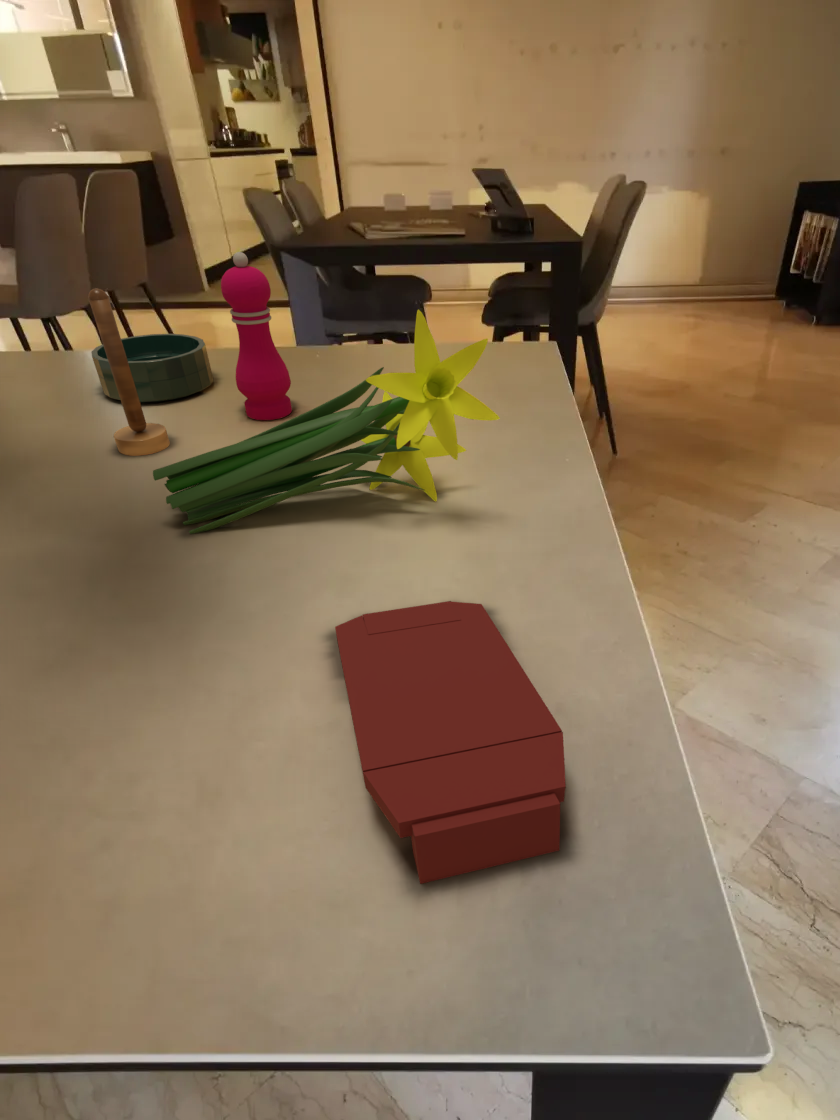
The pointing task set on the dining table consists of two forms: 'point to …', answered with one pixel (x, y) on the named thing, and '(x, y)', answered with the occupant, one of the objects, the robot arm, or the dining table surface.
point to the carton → (453, 737)
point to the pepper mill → (256, 343)
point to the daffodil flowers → (337, 441)
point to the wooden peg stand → (125, 386)
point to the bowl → (159, 366)
